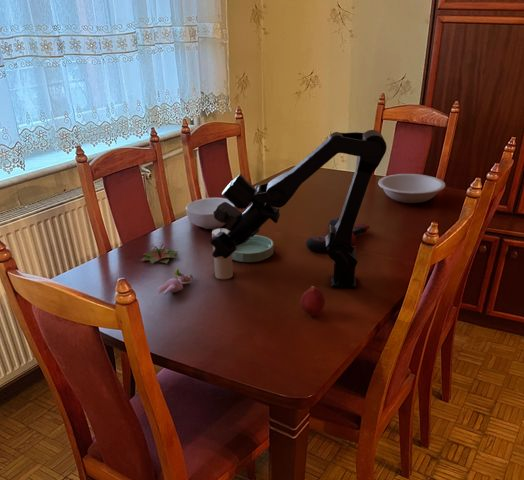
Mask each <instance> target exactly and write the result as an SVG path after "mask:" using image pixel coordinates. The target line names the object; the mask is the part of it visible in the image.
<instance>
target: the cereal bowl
mask: <svg viewBox="0 0 524 480" xmlns="http://www.w3.org/2000/svg"><path fill="white" fill-rule="evenodd" d="M223 202H227V203H229V204H230V205H232V206H233V207H235V208H237V207H236V206H234V205H233V204H232V203H231V202H230V201H229V200H228V199H226V198H225V197H204V198H200V199H196V200H193V201H191V202H189V203H188V204H187V205H186V207H185V211H186V216H187V219H188V221H189V222H191V223H192V224H193V225H194V226H197V227H200V228H202V229H206V230H216V229H220V228H222V227H224V226H225V225H226V224H225V223H221V222H219V221H218V220H216V219H215V218H214V213H213V212H214V211H215V210H216V208H217V207H218V206H219V205H220V204H222V203H223Z"/></svg>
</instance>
